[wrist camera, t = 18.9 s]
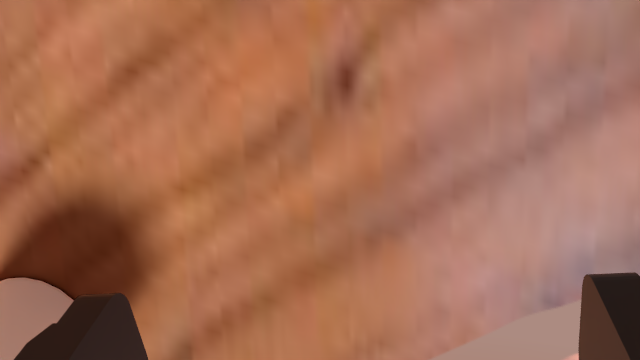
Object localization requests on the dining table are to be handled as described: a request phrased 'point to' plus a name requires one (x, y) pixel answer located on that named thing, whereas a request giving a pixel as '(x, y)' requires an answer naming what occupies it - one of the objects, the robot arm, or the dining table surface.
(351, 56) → the dining table surface
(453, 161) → the dining table surface
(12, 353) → the can
